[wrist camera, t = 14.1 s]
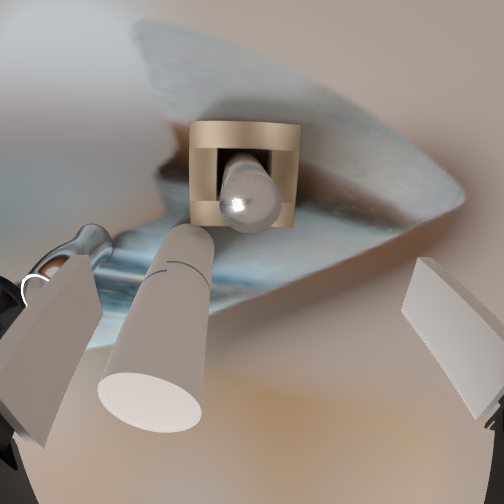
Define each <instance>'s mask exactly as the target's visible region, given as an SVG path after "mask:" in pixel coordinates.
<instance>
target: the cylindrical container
mask: <svg viewBox="0 0 504 504" xmlns="http://www.w3.org/2000/svg"><path fill="white" fill-rule="evenodd" d="M214 251H215V248H214V242H213V240H212V238H211V236H210V235H209V233H208V232H207V231H206V230H204V229H203V228H201V227H200V226H190V224H181V225H178V226H175V227H174V228H172V229H171V230H170V231H169V232H168V233H167V234H166V236H165V238H164V240H163V242H162V243H161V245H160V247H159V249H158V251H157V253H156V255H155V257H154V259H153V261H152V263H151V265H150V267H149V269H148V271H147V273H146V275H145V277H144V279H143V282H142V284H141V286H140V288H139V290H138V292H137V294H136V296H135V299H134V301H133V303H132V305H131V307H130V310H129V312H128V314H127V316H126V319H125V321H124V323H123V325H122V328H121V330H120V332H119V335H118V337H117V339H116V342H115V344H114V347H113V349H112V352H111V354H110V357H109V359H108V362H107V364H106V367H105V369H104V372H103V374H102V377H101V380H100V382H99V385H98V395H99V399H100V400H101V402H102V404H103V405H104V406H105V407H106V408H107V410H109V411H110V412H111V413H112V414H113V415H115V416H116V417H117V418H119V419H121V420H122V421H124V422H126V423H128V424H130V425H133V426H135V427H138V428H141V429H145V430H149V431H154V432H179V431H183V430H187V429H189V428H191V427H193V426H194V425H195V424H197V423H198V421H199V420H200V418H201V411H202V394H203V377H204V363H205V349H206V336H207V324H208V312H209V301H210V290H211V280H212V270H213V260H214Z"/></svg>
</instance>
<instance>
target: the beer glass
mask: <svg viewBox="0 0 504 504" xmlns="http://www.w3.org/2000/svg"><path fill="white" fill-rule="evenodd" d="M112 250H113V243H112V239H111V237H110V235H109V234H108V232H107V231H106V230H105V229H104V228H103V227H101V226H99V225H97V224H87V225H85V226H83V227H82V228H81V229H80V230H79V231H78V233H77V234H76V236H75V237H74V238H73V239H72V240H71V241H69V242H67V243H64V244H62V245H61V246H58V247H57V248H55V249H53V250H52V251H50V252H49V253H48V254H46V255H45V256H44V257H43V258H42V259H41V260H40V261H39V262H38V263H37V264H36V265H35V266H34V267H33V268H32V270H31V271H30V272H29V274H28V275H27V276H26V277H25V278H24V279H23V281H22V284H21V294H22V298H23V300H24V303H25V305H26V306H27V305H28V304H29V303H30V301H31V300H32V299H33V298H34V297H35V295H36V294H37V293H38V292H39V291H40V290H41V288H42V287H43V286H44V285H45V284H46V283H47V282H48V281H49V279H50V278H51V277H52V276H53V275H54V274H55V273H56V272H57V271H58V270H59V269H60V267H61V266H62V265H63V264H64V263H65V262H66V261H67V260H68V259H69V258H70V257H71V256H72V255H89V258H90V263H91V268H92V272H93V277H94V276H95V273H96V271H97V269H98V267H99V266H100V265H101V264H102V263H104V262H105V261H106V260H108V259H109V257H110V256H111V254H112Z"/></svg>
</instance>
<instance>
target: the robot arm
mask: <svg viewBox="0 0 504 504" xmlns="http://www.w3.org/2000/svg"><path fill="white" fill-rule="evenodd" d="M401 312H402V313H403V315H404V316H405V317H406V318H407V320H408V321H409V323H410V324H411V325H412V327H413V328H414V329H415V331H416V332H417V333H418V335H419V336H420V338H421V339H422V340H423V342H424V343H425V344H426V346H427V347H428V349H429V350H430V351H431V353H432V354H433V356H434V357H435V359H436V360H437V361H438V363H439V364H440V366H441V367H442V369H443V370H444V372H445V373H446V375H447V376H448V377H449V379H450V380H451V382H452V384H453V385H454V387H455V388H456V390H457V391H458V393H459V394H460V396H461V398H462V399H463V401H464V402H465V404H466V406H467V407H468V409H469V410H470V412H471V414H472V415H473V417H474V419H475V420H477V419H479V418H481V417H483V416H485V415H487V414H488V413H489V412H490V411H491V410H492V409H493V407H494V406H495V405H496V404H497V402H499V404H500V405H501V406H500V407H499V409H498V410H497V411H496V412H495V413H494V415H493V416H492V417H491V418H490V419H489V420H488V421H487V423H486V424H485V427H484V428H487V427H488V426H489V425H490V424H491V423H492V422H493V421H495V423H494V424H493V425H492V426H491V427H490V430H494V431H495V438H494V448H493V456H492V464H491V471H490V477H489V482H488V487H487V492H486V497H485V501H484V504H504V325H503V324H502V323H501V322H500V321H499V320H498V319H497V318H496V317H495V316H494V315H493V314H492V313H491V312H490V311H489V310H488V309H487V308H486V307H485V306H484V305H483V304H482V303H481V302H480V301H479V300H478V299H477V298H476V297H475V296H474V295H473V294H472V293H471V292H470V291H469V290H467V289H466V288H465V287H464V286H463V285H462V284H461V283H460V282H459V281H458V280H456V279H455V278H454V277H453V276H452V275H451V274H450V273H448V272H447V271H446V270H445V269H444V268H443V267H441V266H440V265H439V264H438V263H437V262H436V261H434V260H433V259H432V258H431V257H418V258H417V262H416V265H415V269H414V272H413V275H412V279H411V282H410V285H409V288H408V291H407V294H406V297H405V300H404V303H403V306H402V309H401ZM102 315H103V312H102V309H101V305H100V301H99V297H98V293H97V289H96V285H95V281H94V277H93V272H92V268H91V263H90V258H89V255H72V256H71V257H70V258H69V259H68V260H67V261H66V262H65V263H64V264H63V265H62V266H61V267H60V269H59V270H58V271H57V272H56V273H55V274H54V275H53V276H52V277H51V278H50V279H49V281H48V282H47V283H46V284H45V285H44V286H43V287H42V288H41V290H40V291H39V292H38V293H37V294H36V295H35V297H34V298H33V299H32V300H31V301H30V303H29V304H28V305H27V306H26V305H25V303H24V300H23V298H22V294H21V290H20V289H19V288H18V287H17V286H16V285H14V284H13V283H12V282H11V281H9V280H8V279H6V278H4V277H1V276H0V504H39V503H38V501H37V499H36V496H35V494H34V492H33V489H32V487H31V485H30V482H29V479H28V477H27V474H26V471H25V468H24V465H23V462H22V459H21V456H20V453H19V450H18V447H17V444H16V442H15V440H14V439H13V438H12V436H13V433H14V431H15V432H16V433H17V434H18V435H19V436H20V437H21V438H22V439H23V440H24V441H25V442H27V443H30V444H32V445H35V446H37V447H40V448H44V446H45V443H46V441H47V438H48V435H49V432H50V430H51V427H52V424H53V421H54V419H55V416H56V414H57V411H58V409H59V406H60V404H61V402H62V399H63V397H64V394H65V392H66V389H67V387H68V385H69V383H70V380H71V378H72V376H73V374H74V372H75V370H76V367H77V365H78V363H79V361H80V359H81V356H82V355H83V353H84V351H85V349H86V347H87V345H88V343H89V341H90V339H91V337H92V335H93V333H94V331H95V329H96V327H97V325H98V323H99V321H100V319H101V317H102Z"/></svg>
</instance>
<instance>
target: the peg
mask: <svg viewBox="0 0 504 504" xmlns="http://www.w3.org/2000/svg"><path fill="white" fill-rule="evenodd" d="M219 207H220V212H221V215H222V217H223V219H224V220H225V222H226V223H227V224H228V225H229V226H230V227H231V228H233V229H234V230H236V231H239V232H242V233H248V234H252V233H258V232H262V231H264V230H266V229H268V228H269V227H270V226H272V225H273V224H274V223H275V221H276V220H277V218H278V217H279V214H280V212H281V207H282V199H281V194H280V192H279V190H278V188H277V186H276V185H275V184H274V182H273V181H272V179H271V178H270V177H269V175H268V174H267V172H266V171H265V170H264V168H263V167H262V166H261V164H260V163H259V161H258V160H257V159H256V158H255V157H254V156H253V155H251V154H249V153H245V152H240V153H236V154H234V155H232V156H231V157H230V158H229V159H228V160H227V162H226V164H225V168H224V175H223V181H222V188H221V194H220V202H219Z"/></svg>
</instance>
